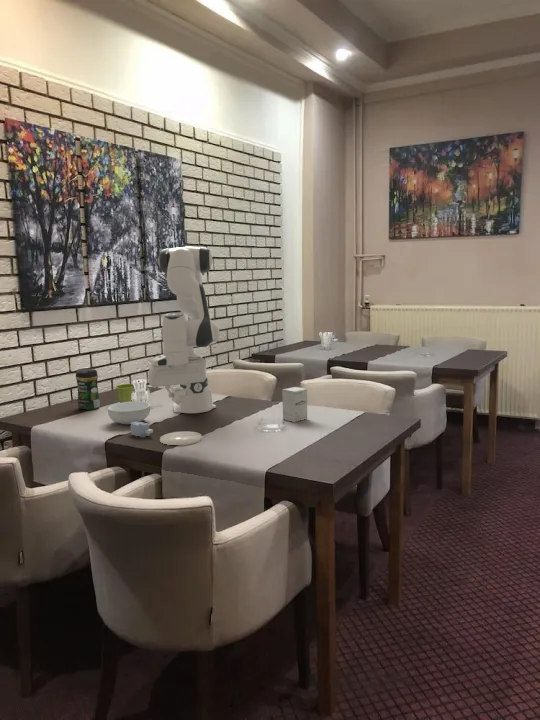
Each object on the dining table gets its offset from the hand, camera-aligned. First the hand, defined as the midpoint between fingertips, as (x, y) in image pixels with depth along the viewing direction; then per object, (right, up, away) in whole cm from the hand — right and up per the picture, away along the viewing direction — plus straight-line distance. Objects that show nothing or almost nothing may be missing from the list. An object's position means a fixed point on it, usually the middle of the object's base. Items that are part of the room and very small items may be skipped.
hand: (178, 396), depth 209 cm
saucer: (0, -16, +3) cm, 16 cm away
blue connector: (-16, -15, +10) cm, 25 cm away
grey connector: (0, -2, 0) cm, 2 cm away
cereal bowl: (-25, -13, +30) cm, 41 cm away
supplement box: (+43, -11, +26) cm, 52 cm away
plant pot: (-35, -8, +64) cm, 73 cm away
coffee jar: (-50, -9, +57) cm, 77 cm away
